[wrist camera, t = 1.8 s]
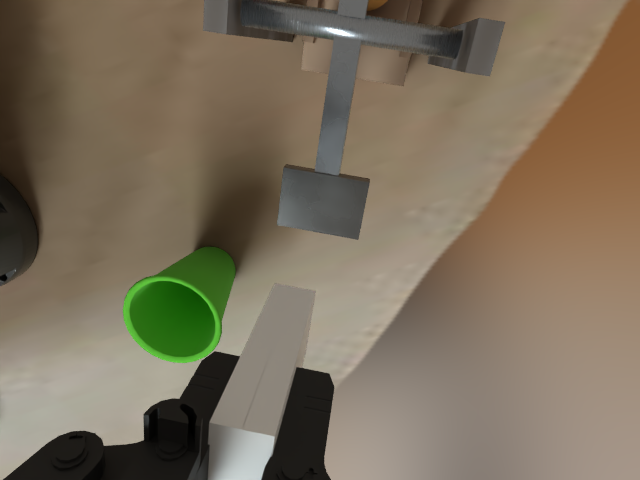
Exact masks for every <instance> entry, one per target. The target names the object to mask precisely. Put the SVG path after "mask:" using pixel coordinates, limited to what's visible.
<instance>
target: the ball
mask: <svg viewBox="0 0 640 480" xmlns="http://www.w3.org/2000/svg"><path fill="white" fill-rule="evenodd" d="M387 1H388V0H369V2H368V8H367V11H370V10H374V9H377V8H379V7H381V6H382V5H383V4H384V3H386V2H387Z"/></svg>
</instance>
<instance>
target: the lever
mask: <svg viewBox="0 0 640 480" xmlns="http://www.w3.org/2000/svg"><path fill="white" fill-rule="evenodd" d="M368 2H369V0H339V6H338V11H337V10H330V9H324V8H317V7H311V6H304V5H298V4H292V3H285V2H279V1H272V0H242V3H241V9H240V19H241V24H242V26H245V27H252V28H258V29H264V30H271V31H277V32H283V33H290V34H296V35H302V36H309V37H315V38H321V39H328V40H334V41H333V48H332V55H331V62H330V69H329V76H328V83H327V90H326V96H325V103H324V110H323V117H322V124H321V131H320V138H319V145H318V152H317V159H316V166H315V169H311V168H305V167H299V166H294V165H288V164H286V165H285V166H284V169H283V178H282V186H281V195H280V204H279V213H278V221H277V225H281V226H286V227H292V228H297V229H302V230H308V231H313V232H319V233H324V234H330V235H335V236H341V237H346V238H352V239H357V240H358V238H359V233H360V228H361V223H362V218H363V213H364V208H365V203H366V198H367V193H368V188H369V183H370V179H368V178H362V177H357V176H351V175H345V174H340V169H341V163H342V157H343V151H344V145H345V139H346V133H347V127H348V121H349V115H350V109H351V103H352V97H353V91H354V85H355V80H356V74H357V68H358V62H359V56H360V50H361V45H365V46H372V47H378V48H384V49H391V50H397V51H403V52H410V53H416V54H422V55H429V56H435V57H441V58H448V59H454V60H455V59H456V58H457V56H458V53H459V50H460V46H461V42H462V37H463V30H460V29H453V28H447V27H440V26H434V25H427V24H421V23H414V22H408V21H402V20H395V19H389V18H382V17H376V16H369V15H366V14H367V8H368Z"/></svg>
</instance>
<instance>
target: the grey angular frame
mask: <svg viewBox="0 0 640 480" xmlns="http://www.w3.org/2000/svg"><path fill="white" fill-rule="evenodd" d="M422 1H423V0H388V1H387V2H386V3H384V4H383V5H382V6H381V7H379V8H377V9H374V10H370V11H367V14H366V15H369V16H376V17H382V18H389V19H395V20H402V21H408V22H414V23H418V20H419V15H420V11H421V6H422ZM241 3H242V0H204V25H203V31H209V32H216V33H222V34H229V35H237V36H246V37H254V38H263V39H271V40H280V41H288V42H292V41H293V34H290V33H283V32H277V31H271V30H264V29H258V28H252V27H245V26H242V24H241V19H240V9H241ZM306 6H311V7H317V8H324V9H330V10H337V11H338V6H339V0H307V5H306ZM504 24H505V22H502V21H496V20H489V19H483V18H478V19H475V20H472V21H469V22H466V23H463V24H460V25H457V26H455V27H452V28H453V29H460V30H463V37H462V42H461V46H460V50H459V53H458V56H457V58H456V59H455V60H454V59H448V58H441V57H435V56H429V60H428V64H432V65H436V66H440V67H444V68H449V69H453V70H457V71H461V72H466V73H472V74H478V75H485V76H490V74H491V71H492V67H493V63H494V60H495V56H496V53H497V49H498V46H499V42H500V39H501V35H502V32H503V28H504ZM302 41H304V49H303V57H302V65H301V70H307V71H313V72H319V73H325V74H329V69H330V62H331V55H332V48H333V41H334V40H328V39H321V38H315V37H309V36H303V39H302ZM409 58H411V53H410V52H403V51H397V50H391V49H384V48H378V47H372V46H365V45H361V50H360V56H359V62H358V68H357V74H356V79H362V80H368V81H374V82H380V83H386V84H393V85H399V86H404V82H405V78H406V73H407V68H408V63H409Z"/></svg>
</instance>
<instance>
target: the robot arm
mask: <svg viewBox="0 0 640 480" xmlns="http://www.w3.org/2000/svg"><path fill="white" fill-rule="evenodd" d="M37 244H38V238H37V230H36V226H35V222H34V219H33V217H32V214H31V212H30V210H29V208H28V206H27V204H26V203H25V201H24V200H23V198H22V197H21V195H20V194H19V193H18V191H17V190H16V189H15V188H14V187H13V186H12V185H11V184H10V183H9V182H8V181H7V180H6V179H5V178H4V177H2V176H1V175H0V286H2V285H4V284H6V283H8V282H10V281H11V280H13V279H15V278H16V277H18V276H20V275H21V274H23V273H24V272H25V271H26V270H27V269H28V268H29V267H30V265H31V264H32V262H33V260H34V258H35V255H36V252H37ZM315 293H316V291H313V290H308V289H303V288H298V287H293V286H288V285H283V284H277V283H275V284H274V286H273V288H272V290H271V292H270V294H269V296H268V298H267V301H266V303H265V305H264V307H263V309H262V311H261V313H260V315H259V318H258V320H257V322H256V324H255V326H254V328H253V330H252V333H251V335H250V337H249V339H248V341H247V343H246V345H245V347H244V350H243V352H242V354H241V356H235V355H230V354H225V353H221V352H216V351H215V352H213V353H212V354H210V355H209V356H208V357H206V358H205V359H204V360H202V361H201V363H200V365H199V366H198V368H197V370H196V372H195V374H194V376H193V377H192V378H191V380H190V382H189V384H188V386H187V387H186V389H185V390H184V392H183V394H182V395H181V397H180V399H168V400H164V401H160V402H159V403H157V404H155V405H153V406H151V407H150V408H149V409H148V410H147V411H146V412H145V413H144V440H143V441H140V442H138V443H133V444H127V445H113V446H104V445H103V442H102V439H101V438H100V437H98V436H97V435H96V434H95V433H91V432H87V431H73V432H69V433H66V434H63V435H60V436H58V437H57V438H55V439H53V440H52V441H50V442H49V443H47V444H46V445H45V446H44V447H42V448H41V449H40V450H39V451H37V452H36V453H35V454H34V455H33V456H31V457H30V458H29V459H28V460H27V461H25V462H24V463H23V464H22V465H20V466H19V467H18V468H17V469H16V470H14V471H13V472H12V473H11V474H9V475H8V476H7V477H6V478H5V479H3V480H331V479H330V477H329V476H328V474H327V472H326V469H325V465H324V455H325V447H326V441H327V434H328V427H329V420H330V413H331V406H332V400H333V393H334V385H333V382H332V380H331V377H330V374H328V373H323V372H319V371H314V370H309V369H304V368H302V365H303V361H304V357H305V353H306V348H307V342H308V336H309V330H310V323H311V317H312V311H313V305H314V299H315Z"/></svg>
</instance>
